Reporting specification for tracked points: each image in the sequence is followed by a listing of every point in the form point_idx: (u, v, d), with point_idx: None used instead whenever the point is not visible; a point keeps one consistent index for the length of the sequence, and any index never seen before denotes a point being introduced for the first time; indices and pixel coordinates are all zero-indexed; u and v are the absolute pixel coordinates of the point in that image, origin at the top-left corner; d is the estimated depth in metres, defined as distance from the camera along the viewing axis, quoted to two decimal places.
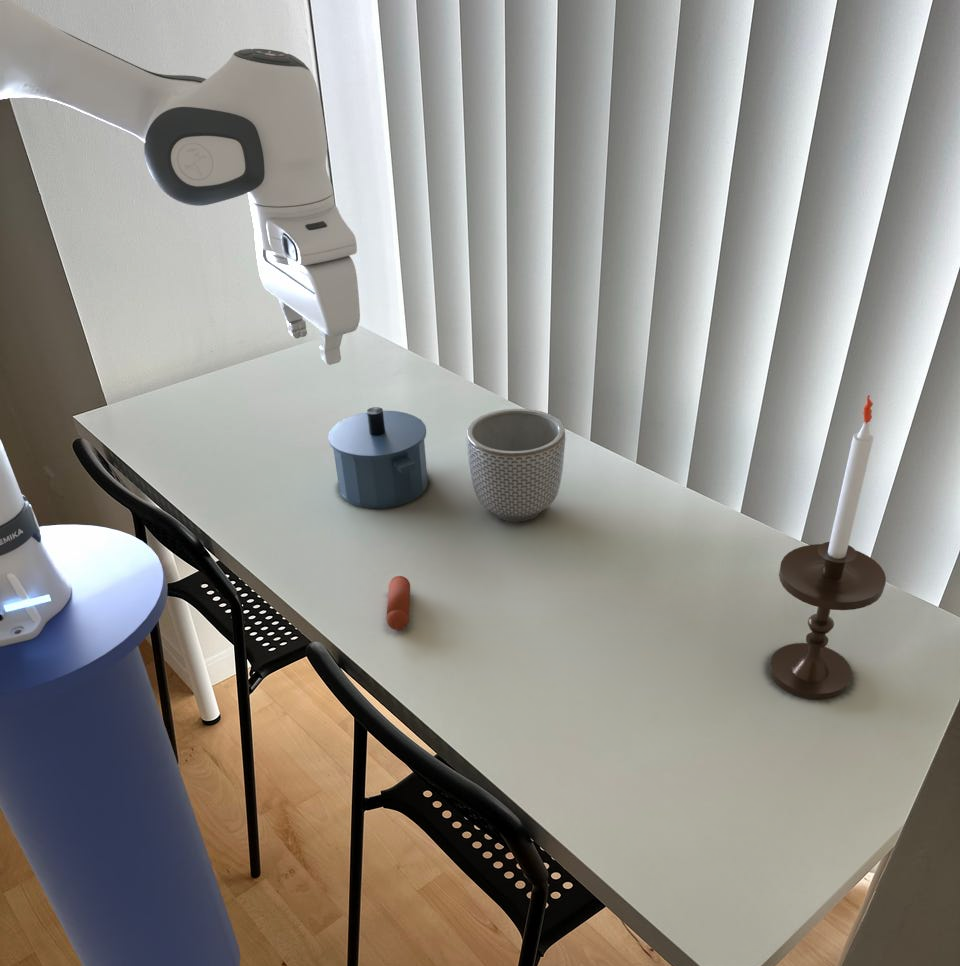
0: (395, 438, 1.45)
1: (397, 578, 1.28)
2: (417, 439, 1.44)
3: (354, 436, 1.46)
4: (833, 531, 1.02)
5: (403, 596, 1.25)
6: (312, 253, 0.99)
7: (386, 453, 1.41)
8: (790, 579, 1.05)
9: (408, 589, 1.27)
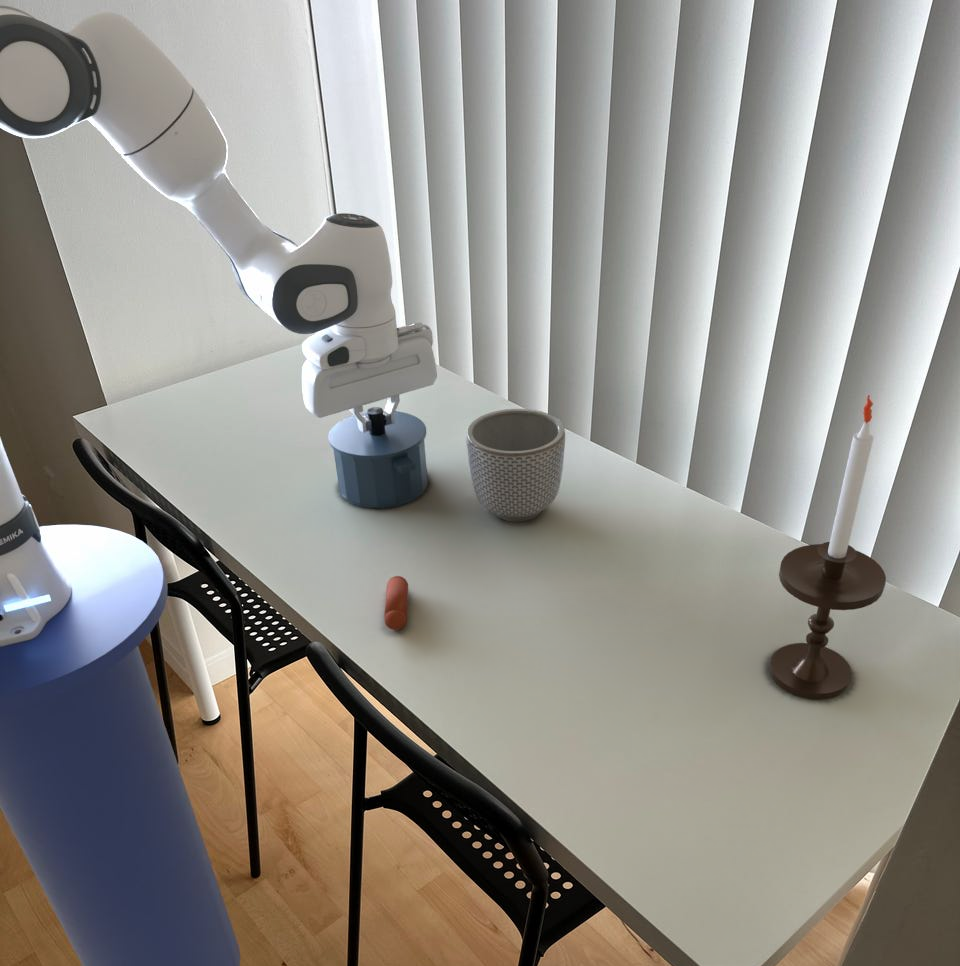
0: (395, 438, 1.45)
1: (393, 579, 1.28)
2: (417, 439, 1.44)
3: (354, 436, 1.46)
4: (833, 531, 1.02)
5: (399, 596, 1.25)
6: (304, 350, 1.35)
7: (386, 453, 1.41)
8: (790, 579, 1.05)
9: (405, 588, 1.27)
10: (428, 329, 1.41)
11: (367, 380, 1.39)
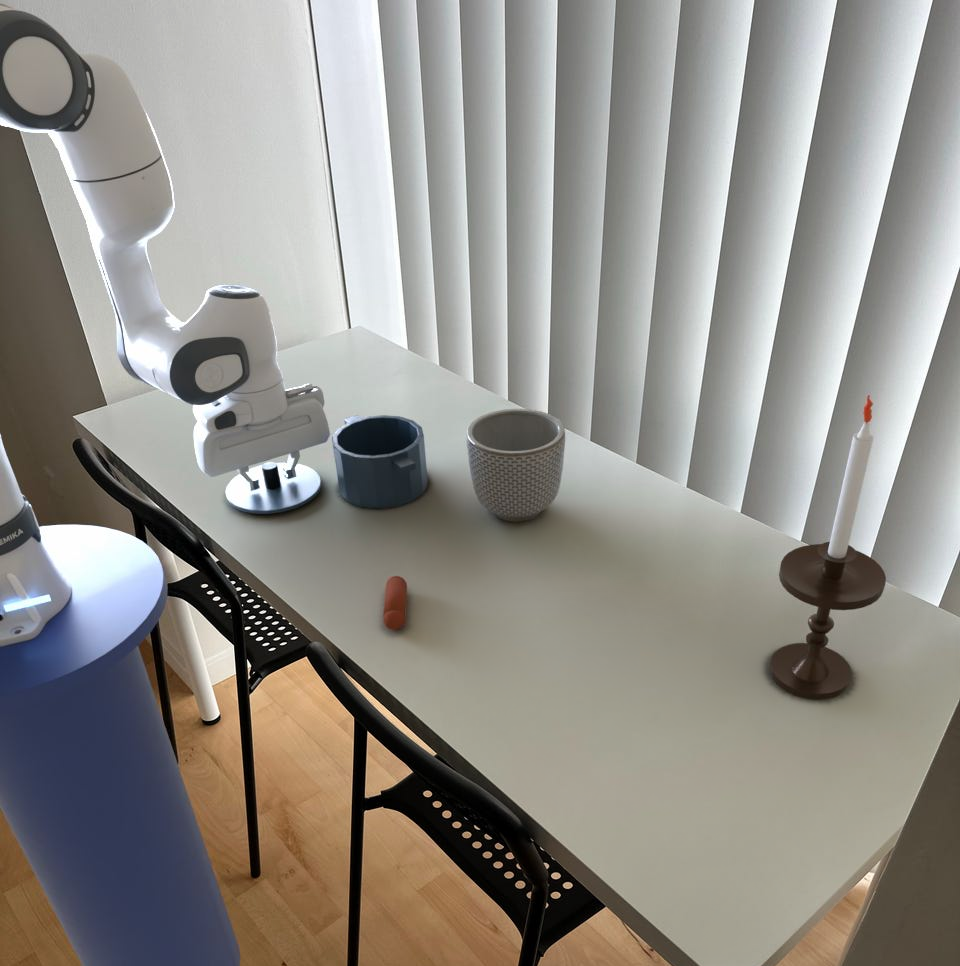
0: (289, 492, 1.49)
1: (391, 579, 1.28)
2: (310, 493, 1.49)
3: None
4: (833, 531, 1.02)
5: (397, 595, 1.25)
6: (194, 413, 1.40)
7: (278, 508, 1.46)
8: (790, 579, 1.05)
9: (403, 587, 1.27)
10: (319, 390, 1.46)
11: (258, 440, 1.44)
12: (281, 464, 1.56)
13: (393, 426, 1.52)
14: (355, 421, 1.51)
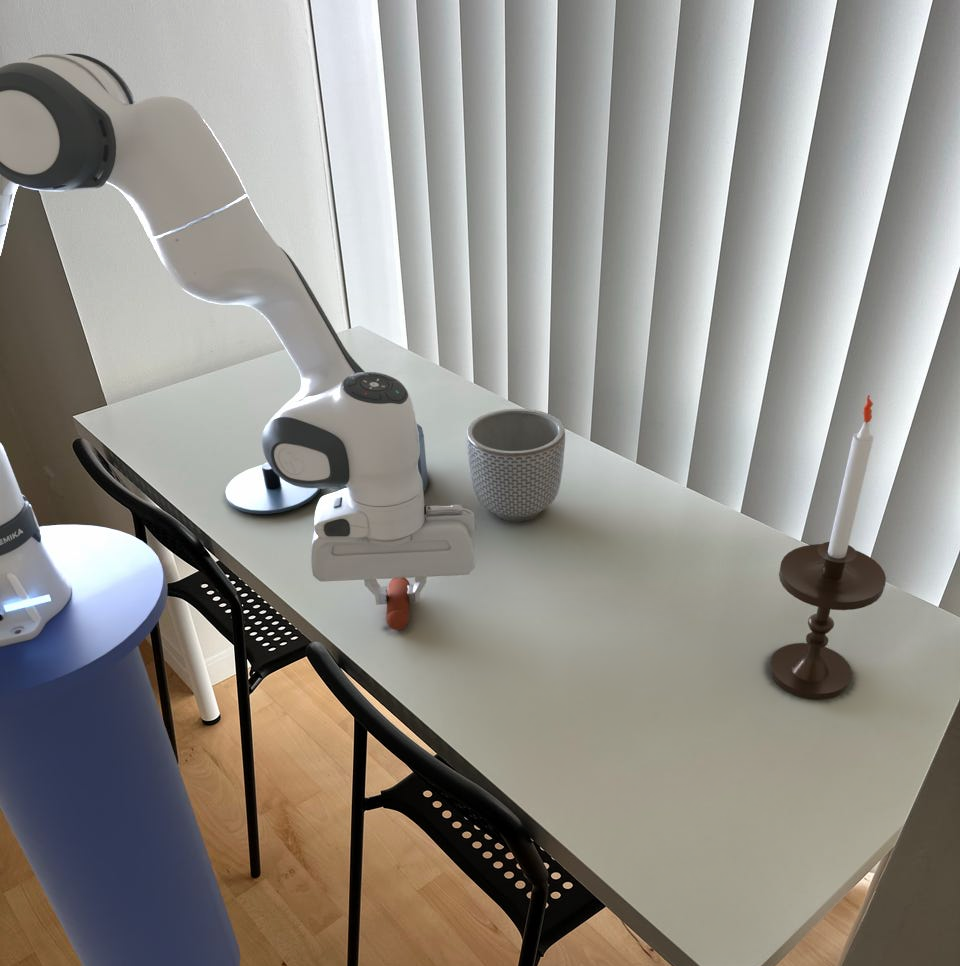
0: (289, 492, 1.49)
1: (390, 582, 1.28)
2: (310, 493, 1.49)
3: (250, 490, 1.50)
4: (833, 531, 1.02)
5: (395, 595, 1.25)
6: None
7: (278, 508, 1.46)
8: (790, 579, 1.05)
9: (401, 585, 1.27)
10: (469, 515, 1.18)
11: (380, 555, 1.19)
12: None
13: None
14: None
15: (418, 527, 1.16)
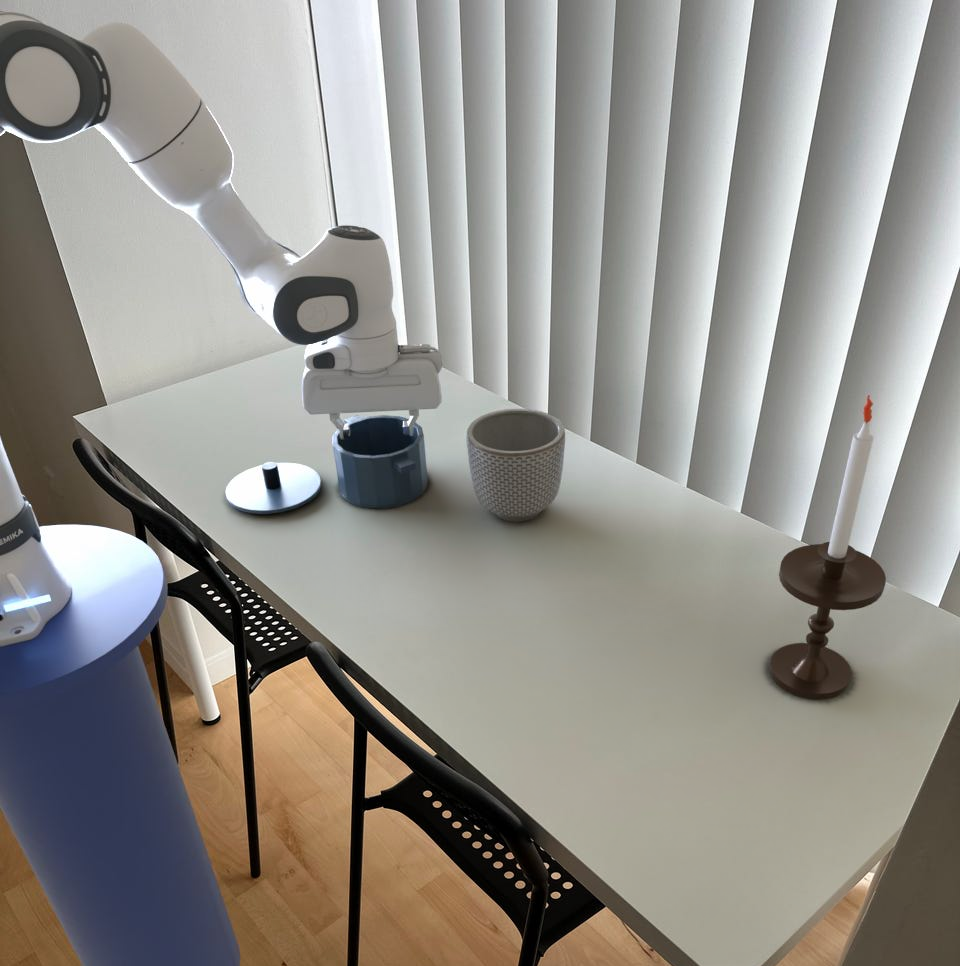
0: (289, 492, 1.49)
1: None
2: (310, 493, 1.49)
3: (250, 490, 1.50)
4: (833, 531, 1.02)
5: None
6: None
7: (278, 508, 1.46)
8: (790, 579, 1.05)
9: None
10: (436, 353, 1.39)
11: (361, 389, 1.40)
12: (281, 464, 1.56)
13: (393, 426, 1.52)
14: (355, 421, 1.51)
15: (392, 361, 1.37)
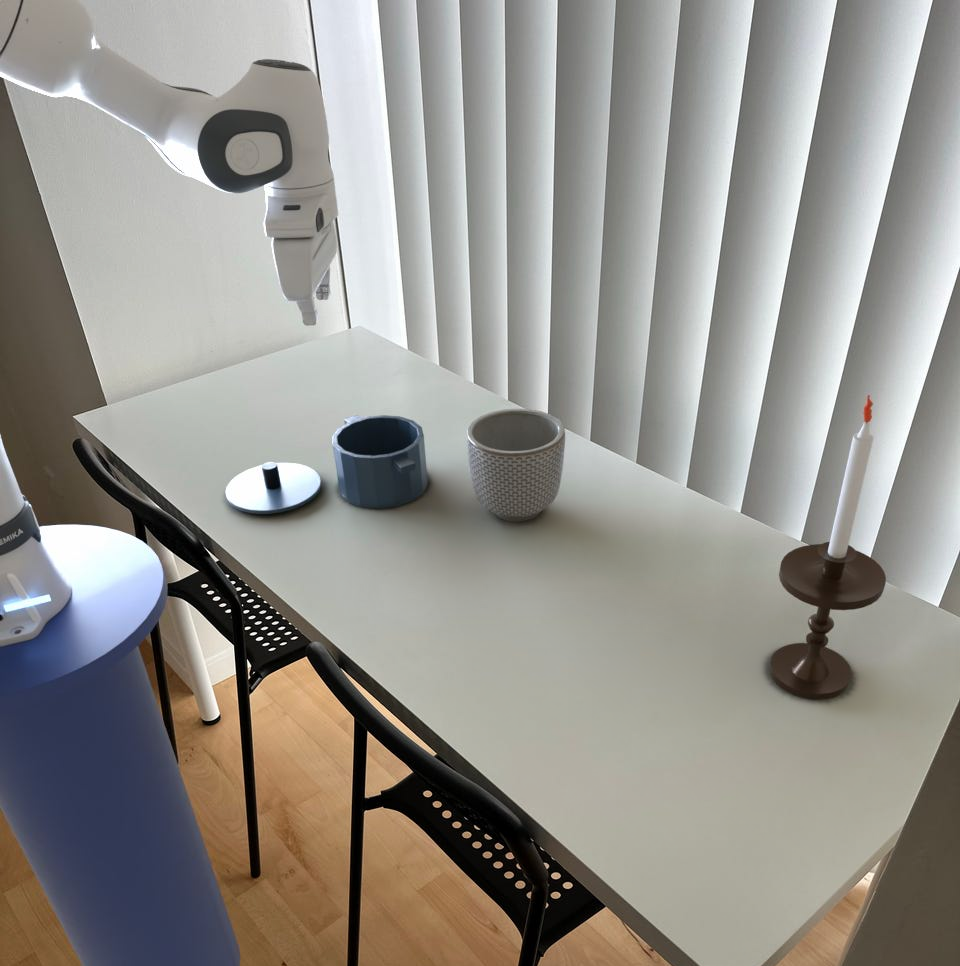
0: (289, 492, 1.49)
1: None
2: (310, 493, 1.49)
3: (250, 490, 1.50)
4: (833, 531, 1.02)
5: None
6: (273, 229, 1.19)
7: (278, 508, 1.46)
8: (790, 579, 1.05)
9: None
10: None
11: (320, 251, 1.28)
12: (281, 464, 1.56)
13: (393, 426, 1.52)
14: (355, 421, 1.51)
15: None
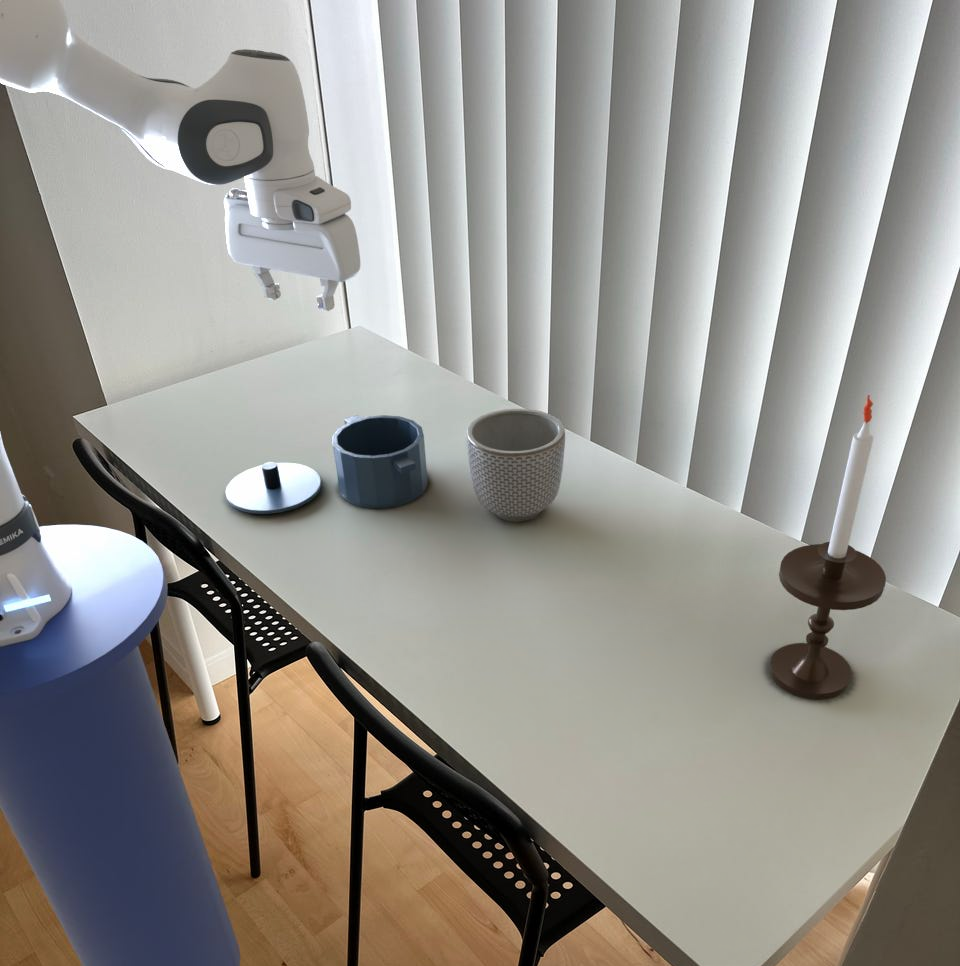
0: (289, 492, 1.49)
1: None
2: (310, 493, 1.49)
3: (250, 490, 1.50)
4: (833, 531, 1.02)
5: None
6: (327, 212, 1.20)
7: (278, 508, 1.46)
8: (790, 579, 1.05)
9: None
10: (229, 196, 1.30)
11: None
12: (281, 464, 1.56)
13: (393, 426, 1.52)
14: (355, 421, 1.51)
15: None
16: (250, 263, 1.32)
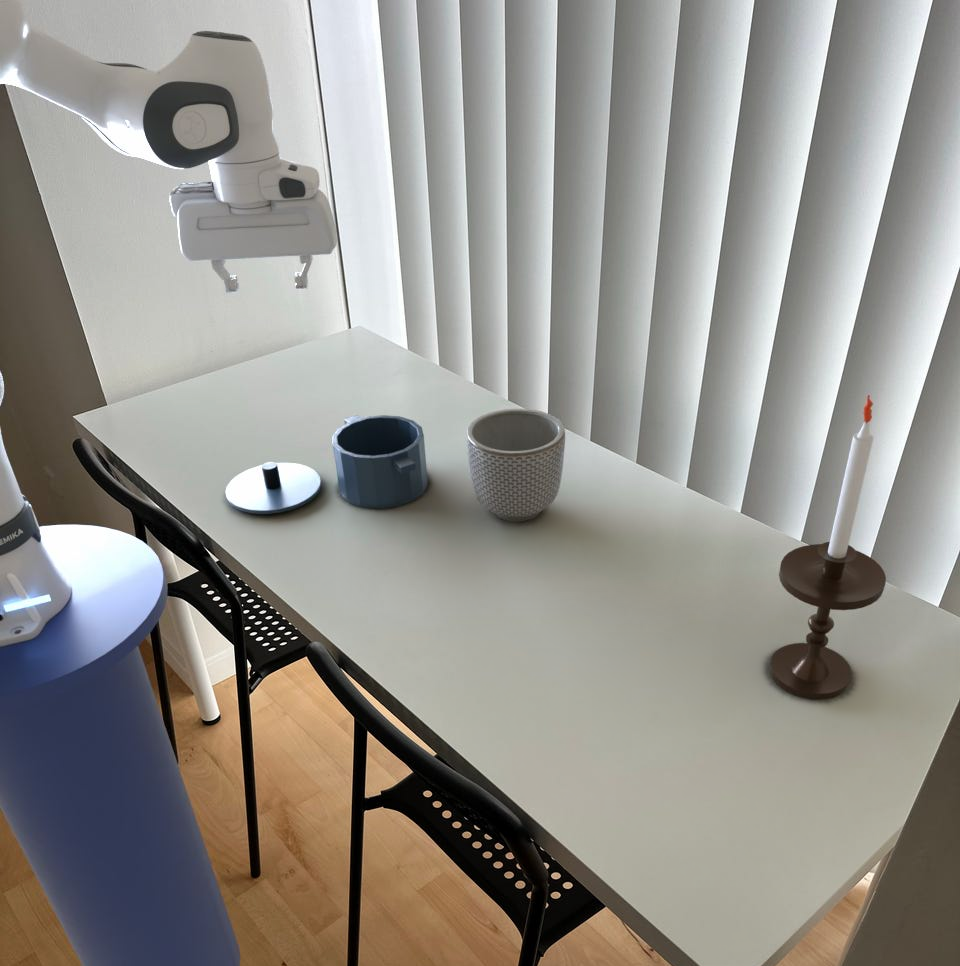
0: (289, 492, 1.49)
1: None
2: (310, 493, 1.49)
3: (250, 490, 1.50)
4: (833, 531, 1.02)
5: None
6: (315, 185, 1.22)
7: (278, 508, 1.46)
8: (790, 579, 1.05)
9: None
10: None
11: None
12: (281, 464, 1.56)
13: (393, 426, 1.52)
14: (355, 421, 1.51)
15: None
16: (212, 257, 1.28)
